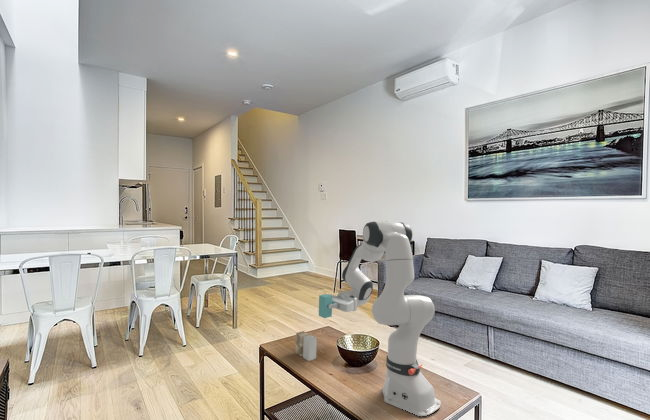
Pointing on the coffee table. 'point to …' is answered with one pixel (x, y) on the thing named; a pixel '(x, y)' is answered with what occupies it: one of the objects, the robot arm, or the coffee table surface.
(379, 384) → the coffee table surface
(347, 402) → the coffee table surface
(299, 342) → the beige carved figurine
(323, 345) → the coffee table surface
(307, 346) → the grey block
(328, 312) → the teal block
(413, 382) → the robot arm
